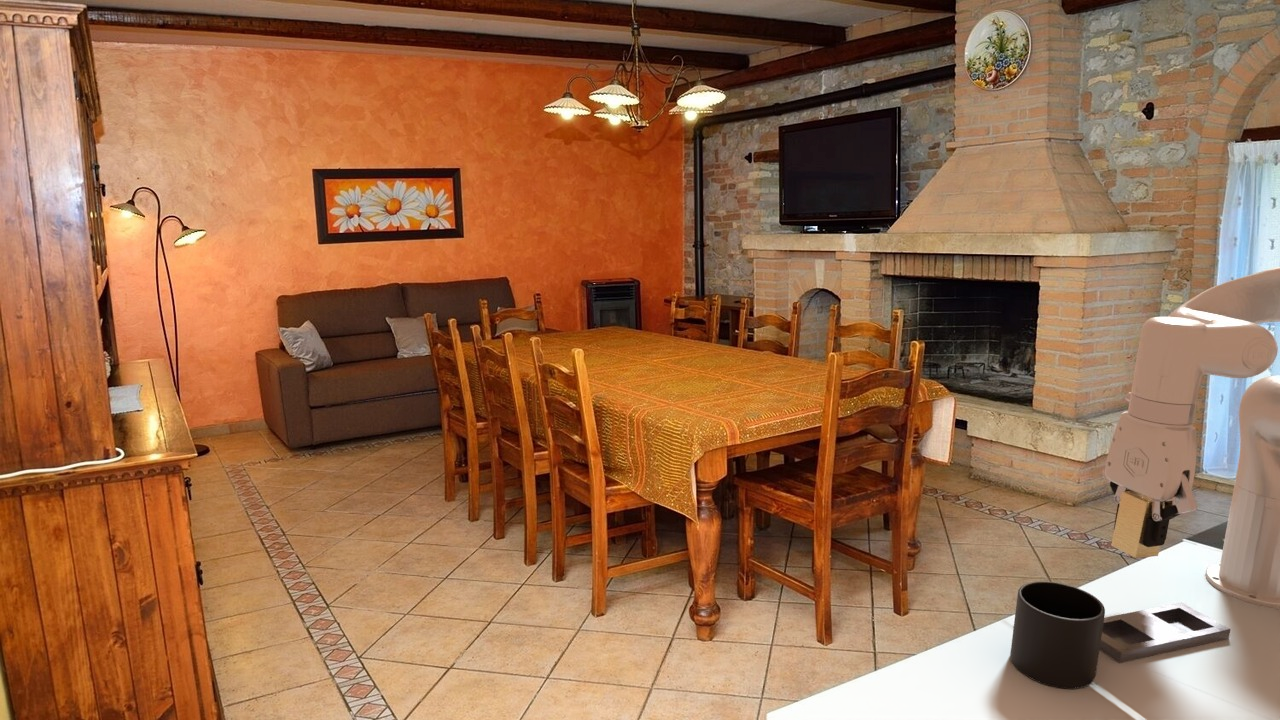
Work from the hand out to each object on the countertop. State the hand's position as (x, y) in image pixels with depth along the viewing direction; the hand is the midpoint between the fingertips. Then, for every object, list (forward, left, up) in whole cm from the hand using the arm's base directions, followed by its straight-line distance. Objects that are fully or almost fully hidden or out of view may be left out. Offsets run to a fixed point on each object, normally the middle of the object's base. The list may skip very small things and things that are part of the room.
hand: (1138, 536), depth 116 cm
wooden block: (0, 0, -2) cm, 2 cm away
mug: (+13, +18, -10) cm, 25 cm away
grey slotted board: (0, +10, -10) cm, 14 cm away
